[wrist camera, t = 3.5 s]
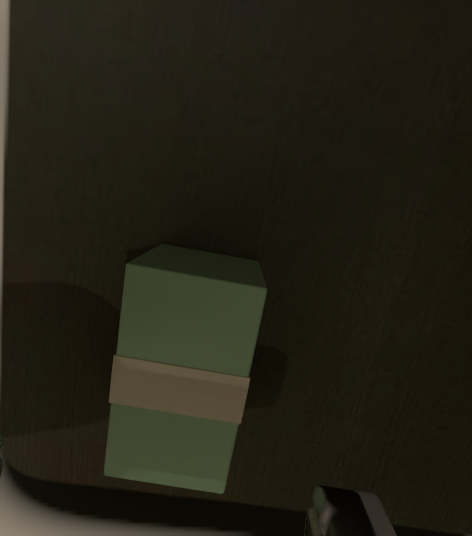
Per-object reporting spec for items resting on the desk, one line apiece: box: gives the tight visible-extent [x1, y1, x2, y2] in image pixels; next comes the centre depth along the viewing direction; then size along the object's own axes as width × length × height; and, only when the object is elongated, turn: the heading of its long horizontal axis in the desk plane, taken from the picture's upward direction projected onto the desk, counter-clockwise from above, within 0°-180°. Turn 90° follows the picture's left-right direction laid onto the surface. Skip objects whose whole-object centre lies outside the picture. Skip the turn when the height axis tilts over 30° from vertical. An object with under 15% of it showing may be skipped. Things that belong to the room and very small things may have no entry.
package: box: [104, 244, 267, 494], centre depth 14 cm, size 5×9×5 cm, turn 170°
